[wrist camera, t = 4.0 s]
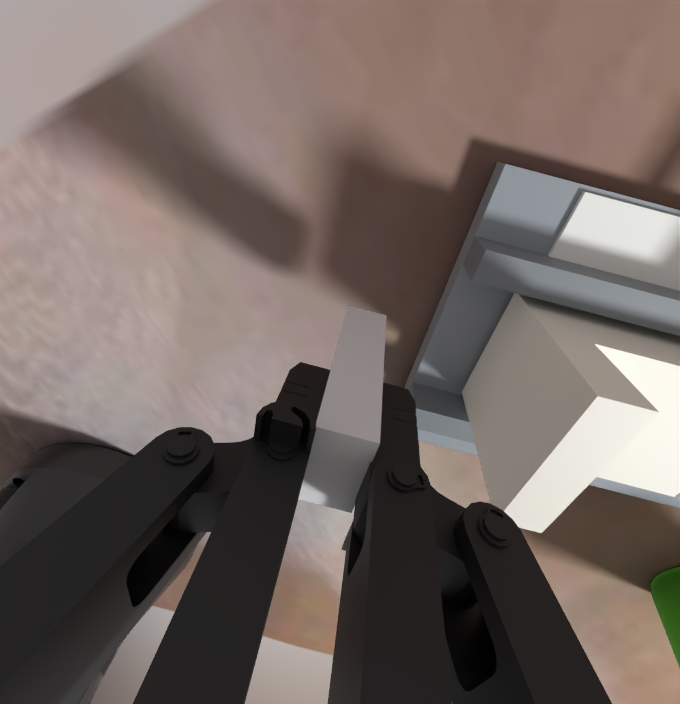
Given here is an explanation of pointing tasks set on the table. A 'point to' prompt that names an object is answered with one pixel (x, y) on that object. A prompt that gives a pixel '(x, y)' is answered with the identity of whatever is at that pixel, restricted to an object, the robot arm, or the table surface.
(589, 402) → the cream block
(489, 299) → the base
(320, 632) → the table surface
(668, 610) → the cup
